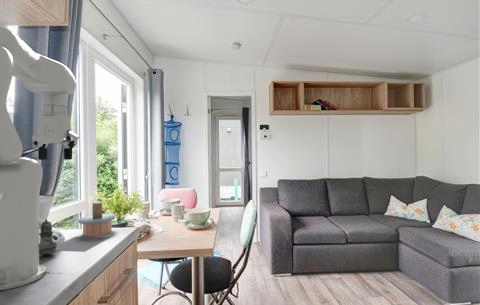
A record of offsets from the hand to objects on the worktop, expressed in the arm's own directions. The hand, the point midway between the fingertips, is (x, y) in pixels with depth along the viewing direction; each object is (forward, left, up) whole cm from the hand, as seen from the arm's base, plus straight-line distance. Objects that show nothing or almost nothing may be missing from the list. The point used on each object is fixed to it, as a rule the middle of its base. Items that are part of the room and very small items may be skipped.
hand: (55, 159), depth 95 cm
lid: (+13, -7, -25) cm, 29 cm away
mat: (0, -9, -30) cm, 32 cm away
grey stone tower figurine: (-11, -6, -31) cm, 33 cm away
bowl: (+13, -7, -30) cm, 34 cm away
